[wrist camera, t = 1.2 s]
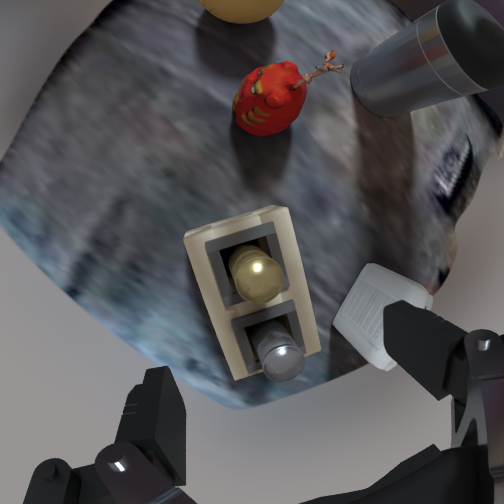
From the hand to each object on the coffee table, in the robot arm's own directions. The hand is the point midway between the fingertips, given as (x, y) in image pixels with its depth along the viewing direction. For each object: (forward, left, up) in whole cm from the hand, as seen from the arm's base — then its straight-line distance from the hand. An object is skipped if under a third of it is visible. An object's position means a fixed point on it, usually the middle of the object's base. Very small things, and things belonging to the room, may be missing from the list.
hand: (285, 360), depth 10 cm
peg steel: (-1, +9, -19) cm, 21 cm away
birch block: (-1, +5, -24) cm, 25 cm away
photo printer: (-14, +12, -24) cm, 31 cm away
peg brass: (-1, +1, -19) cm, 19 cm away
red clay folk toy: (-8, -14, -24) cm, 29 cm away
